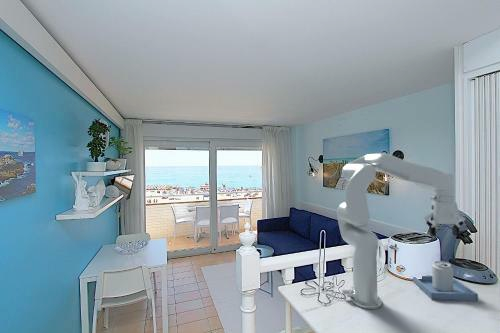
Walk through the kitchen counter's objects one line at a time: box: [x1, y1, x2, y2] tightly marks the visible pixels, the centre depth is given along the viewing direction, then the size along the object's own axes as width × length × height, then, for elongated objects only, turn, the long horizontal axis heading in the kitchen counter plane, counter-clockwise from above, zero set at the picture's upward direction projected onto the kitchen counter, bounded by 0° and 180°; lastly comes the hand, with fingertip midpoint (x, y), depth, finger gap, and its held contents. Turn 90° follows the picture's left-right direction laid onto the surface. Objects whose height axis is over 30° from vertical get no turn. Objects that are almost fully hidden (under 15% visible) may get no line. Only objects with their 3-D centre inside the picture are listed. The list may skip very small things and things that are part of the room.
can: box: [431, 260, 454, 292], centre depth 110 cm, size 8×8×12 cm
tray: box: [412, 274, 479, 302], centre depth 110 cm, size 18×16×3 cm
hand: (444, 235), depth 112 cm, fingers open, 9 cm apart
